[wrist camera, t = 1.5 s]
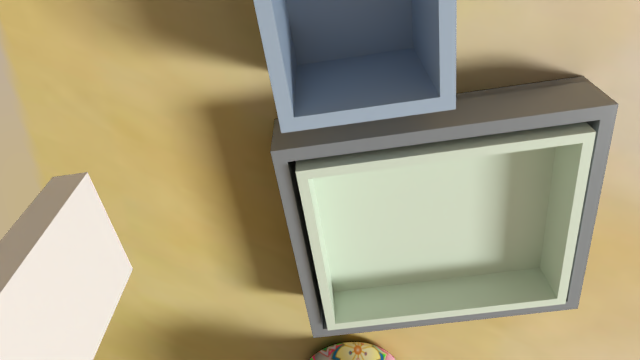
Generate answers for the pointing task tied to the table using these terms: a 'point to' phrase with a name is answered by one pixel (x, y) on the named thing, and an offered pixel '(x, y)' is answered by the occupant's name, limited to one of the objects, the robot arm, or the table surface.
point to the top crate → (446, 225)
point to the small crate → (358, 59)
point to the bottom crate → (463, 122)
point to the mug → (352, 352)
